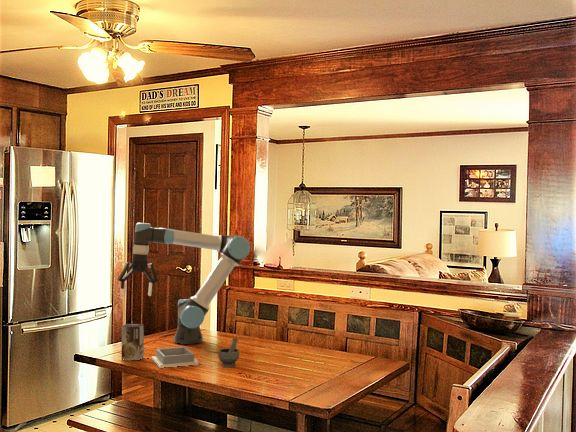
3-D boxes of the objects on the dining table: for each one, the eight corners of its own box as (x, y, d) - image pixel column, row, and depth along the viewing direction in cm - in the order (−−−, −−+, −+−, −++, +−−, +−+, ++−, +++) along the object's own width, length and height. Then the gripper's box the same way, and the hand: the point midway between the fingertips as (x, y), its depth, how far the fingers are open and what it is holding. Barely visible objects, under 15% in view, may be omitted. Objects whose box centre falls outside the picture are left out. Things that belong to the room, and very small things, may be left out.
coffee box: (144, 357, 289) (144, 324, 289) (139, 361, 283) (140, 326, 283) (125, 357, 290) (126, 323, 290) (120, 360, 284) (121, 325, 284)
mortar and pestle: (230, 369, 270) (230, 342, 270) (213, 366, 275) (214, 339, 275) (245, 364, 280) (245, 338, 280) (228, 361, 285) (229, 335, 285)
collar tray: (188, 356, 293) (189, 346, 293) (198, 365, 277) (199, 354, 277) (151, 359, 286) (151, 348, 286) (159, 368, 270) (159, 357, 270)
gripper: (161, 254, 316) (157, 294, 316) (113, 251, 302) (109, 294, 302) (166, 255, 310) (162, 296, 310) (118, 252, 296) (114, 296, 296)
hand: (136, 295), depth 306 cm, fingers open, 13 cm apart
